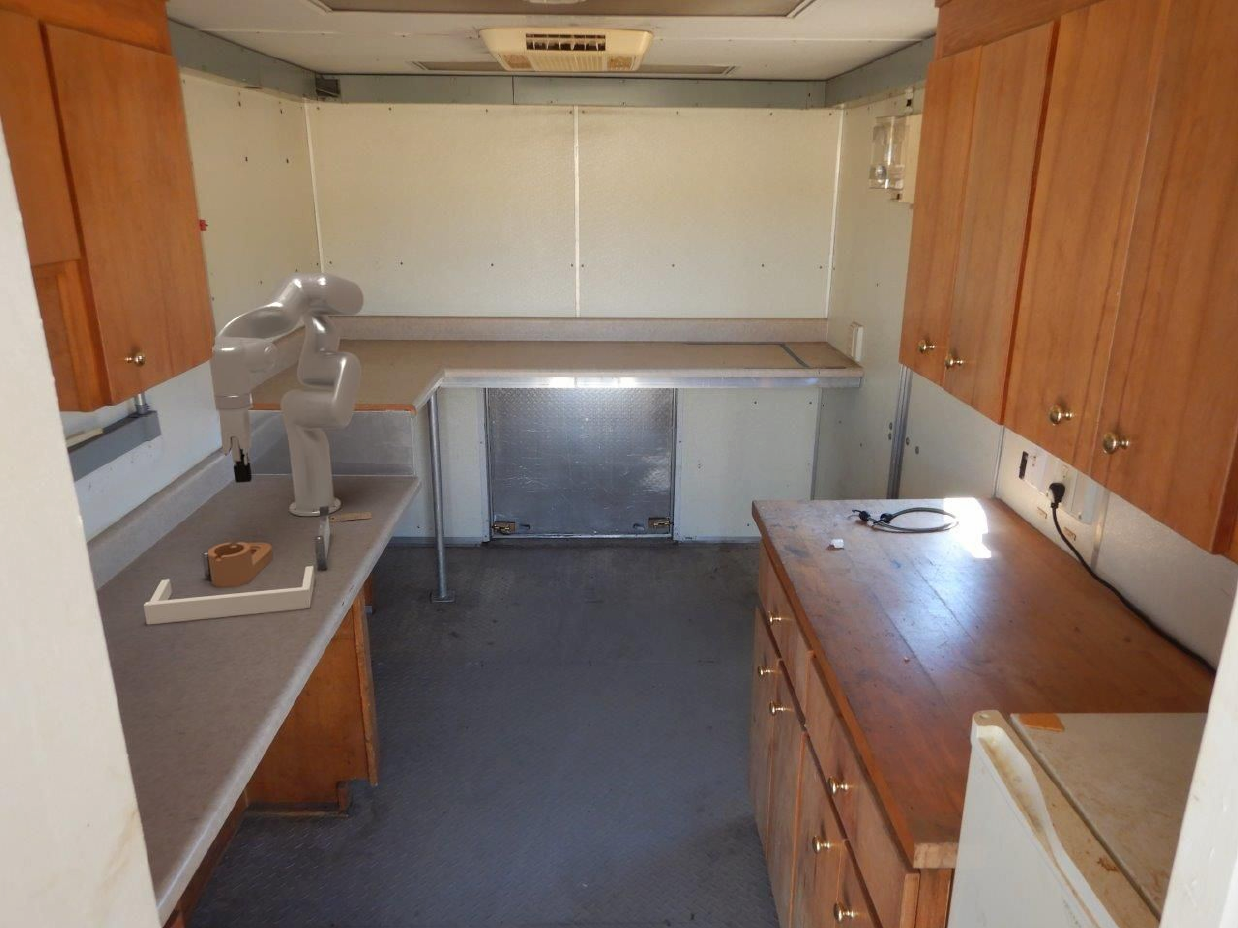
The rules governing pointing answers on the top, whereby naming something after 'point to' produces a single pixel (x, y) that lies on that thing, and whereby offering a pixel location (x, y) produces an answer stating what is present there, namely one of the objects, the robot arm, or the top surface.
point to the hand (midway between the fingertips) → (243, 480)
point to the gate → (325, 526)
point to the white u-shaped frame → (226, 602)
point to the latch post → (206, 565)
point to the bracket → (237, 562)
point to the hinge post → (320, 553)
